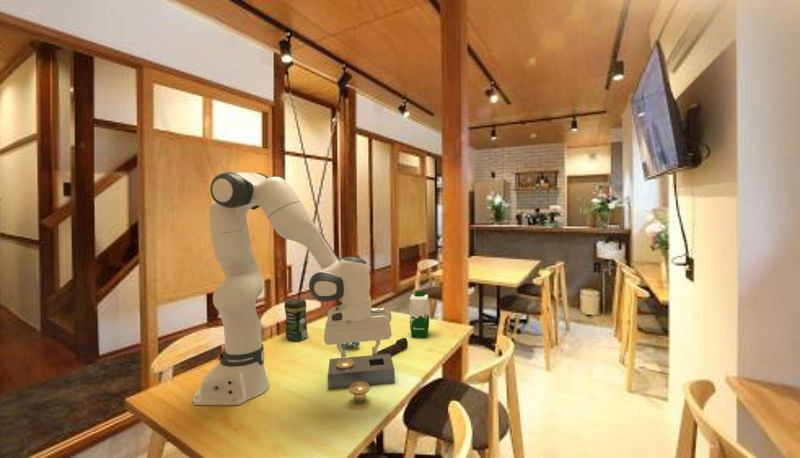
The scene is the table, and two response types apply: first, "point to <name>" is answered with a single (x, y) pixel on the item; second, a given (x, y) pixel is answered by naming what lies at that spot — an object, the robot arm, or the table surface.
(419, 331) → the milk carton
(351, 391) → the tan dome cap
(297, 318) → the coffee jar
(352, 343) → the teal cog wheel
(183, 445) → the table surface
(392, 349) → the hand tool
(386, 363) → the block
